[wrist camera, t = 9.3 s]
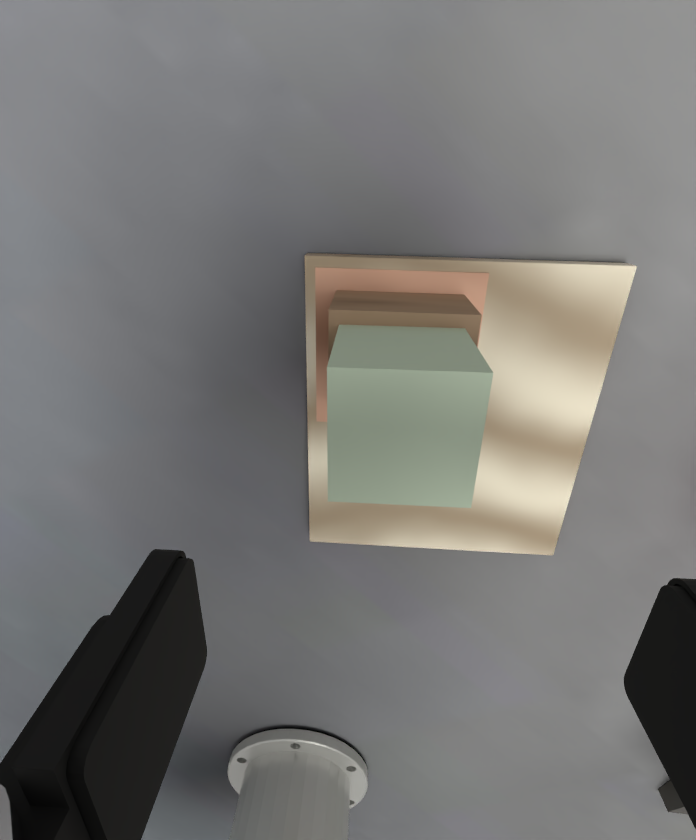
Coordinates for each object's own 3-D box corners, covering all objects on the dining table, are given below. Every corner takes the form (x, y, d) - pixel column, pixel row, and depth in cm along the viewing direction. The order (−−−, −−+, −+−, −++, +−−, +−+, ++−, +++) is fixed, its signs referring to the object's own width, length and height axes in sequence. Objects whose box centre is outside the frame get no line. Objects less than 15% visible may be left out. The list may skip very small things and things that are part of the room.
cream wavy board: (547, 544, 29) (553, 556, 28) (311, 530, 30) (309, 542, 29) (625, 263, 22) (638, 266, 21) (307, 253, 22) (304, 255, 21)
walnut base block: (448, 410, 24) (461, 448, 21) (335, 405, 24) (327, 442, 21) (464, 294, 22) (481, 315, 18) (336, 290, 22) (328, 309, 18)
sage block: (450, 438, 20) (471, 508, 16) (338, 434, 21) (327, 501, 16) (464, 328, 18) (493, 372, 14) (339, 324, 18) (326, 367, 14)
